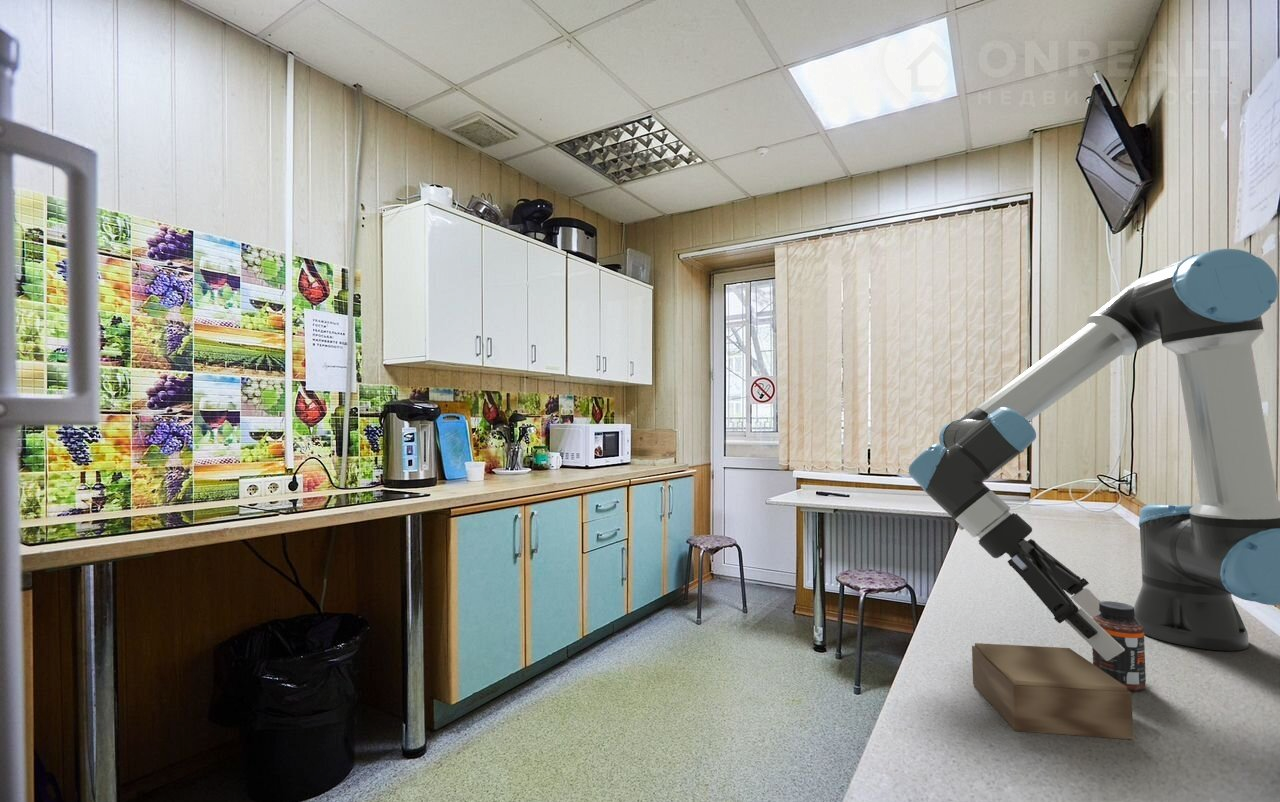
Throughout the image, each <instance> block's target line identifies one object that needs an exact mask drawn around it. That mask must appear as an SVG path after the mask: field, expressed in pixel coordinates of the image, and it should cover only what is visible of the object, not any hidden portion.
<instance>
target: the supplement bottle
mask: <svg viewBox="0 0 1280 802" xmlns="http://www.w3.org/2000/svg"><path fill="white" fill-rule="evenodd" d="M1101 601H1102V602H1100V603H1099V611H1100V612H1101V614H1099V615H1096V616H1094V617H1093V618H1092V619H1093V620H1094V621H1095V622H1097V623H1098V624H1099V625H1100V626H1101V627H1102V628H1103V629H1104V630H1105V631H1106V632H1107V633H1108V634H1109V635H1110V636H1111V637H1112V638H1113V639H1115V640H1116V641H1117V642H1118V643H1119V644H1120V645H1121V646H1122V647H1123V648H1124V649H1125V651H1123V652H1122V653H1120V654H1118V655H1117V656H1115V657H1114V658H1112V659H1110V660H1109V661H1106V660H1105V659H1104V658H1103V657H1102V656H1101V655H1100V654H1099V653H1098V652H1097V651H1096V650H1095V649H1094V648H1093V647H1092V646H1091V647H1092V664H1094V665H1095V666H1097V667H1098V668H1099V669H1101V670H1102V671H1104V672H1105V673H1107V674H1108V675H1110V676H1111V677H1113V678H1114V679H1116V680H1117V681H1119V682H1120V683H1121V684H1123V685H1124V686H1126V687H1127V690H1128V691H1130V692H1137V691H1141V690H1144V689H1145V688H1146V685H1147V684H1146V682H1147V679H1146V678H1147V676H1146V673H1147V672H1146V653H1145V649H1146V647H1145V634H1144V629H1143V627H1142V625H1141V624H1140V623H1138V622H1137V621H1136V619H1135V618H1134V616H1135V613H1134V606H1133V605H1131V604H1127V603H1125V602H1119V601H1118V602H1117V601H1110V600H1108V601H1107V600H1104V601H1103V600H1101Z"/></svg>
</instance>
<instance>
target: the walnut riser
mask: <svg viewBox="0 0 1280 802" xmlns="http://www.w3.org/2000/svg"><path fill="white" fill-rule="evenodd" d="M971 654H972V655H971V656H972V657H971V658H972V659H971V661H972V663H971V664H972V685H973V686H974V687H975V688H976V689H977V691H978V692H980V693H981V695H983V697H984V698H985V699H986V701H988V703H989V704H990V705H991V706H992V708H994V709H995V710H996V711H997V712H998V713H999V715H1000V716H1001V717H1002V718H1003V719H1004V720H1005V722H1007V724H1008V725H1009V726H1010V727H1011V728H1012V729H1013V730H1014V732H1015V731H1016V732H1025V733H1026V732H1028V733H1039V734H1041V733H1042V734H1056V735H1065V736H1066V735H1068V736H1069V735H1070V736H1081V737H1095V738H1107V739H1123V740H1134V723H1133V721H1134V719H1133V695H1132V691H1129V690H1127V687H1126V686H1124V685H1123V684H1121V683H1120V682H1119V681H1117V680H1116V679H1114V678H1113V677H1111V676H1110V675H1108V674H1107V673H1105V672H1104V671H1102V670H1101V669H1099V668H1098V667H1097V666H1095V665H1094V664H1093V662H1091V661H1089V660H1088V659H1086V658H1084V657H1083V656H1082V655H1080V654H1078V653H1077V652H1076V651H1075V650H1073V649H1071V648H1070V647H1060V646H1059V647H1057V646H1056V647H1055V646H1054V647H1053V646H1039V645H1038V646H1037V645H1036V646H1035V645H1019V644H1018V645H1017V644H1016V645H1015V644H997V643H980V642H975V643H974V645H971Z"/></svg>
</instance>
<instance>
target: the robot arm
mask: <svg viewBox="0 0 1280 802" xmlns="http://www.w3.org/2000/svg"><path fill="white" fill-rule="evenodd" d="M1278 295H1279V281H1278V277H1277V274H1276V273H1275V271H1274V270H1273V268H1272V267H1271V266H1270V265H1269V264H1268V263H1267V262H1266V261H1265V260H1264V259H1262V258H1261V257H1259V256H1255V255H1254V254H1252V253H1251V252H1248V251H1246V250H1242V249H1238V248H1237V249H1235V248H1219V249H1214V250H1209V251H1206V252H1202V253H1198V254H1194V255H1193V254H1192V255H1190V256H1188V257H1186V258H1185V259H1182V260H1180V261H1178V262H1175V263H1172V264H1170V265H1168V266H1164V267H1162V268H1159V269H1156V270H1153V271H1151V272H1148V273H1146V274H1144V275H1142V276H1141V277H1139V278H1137V279H1136V280H1134V281H1133V282H1131V283H1130V284H1129V285H1128V286H1126V287H1125V288H1124V289H1122V290H1121V291H1120V292H1118V293H1117V294H1116V295H1115V296H1113V297H1112V298H1111V299H1110V300H1108V302H1106V303H1105V304H1103V305H1102V306H1101V307H1100V308H1098V309H1097V310H1096V311H1095V312H1093V313H1091V314H1090V315H1089V316H1088V317H1087V318H1086V322H1085V324H1086V325H1085V326H1084V327H1083V328H1082V329H1080V330H1078V331H1077V332H1076V333H1075V334H1073V335H1072V336H1070V338H1068V339H1067V340H1066V341H1064V342H1062V343H1061V344H1060V345H1059V346H1057V347H1056V348H1055V349H1053V350H1051V351H1050V352H1049V353H1047V355H1046V354H1045V356H1043V357H1042V358H1041V359H1040V360H1038V361H1036V362H1035V363H1034V364H1032V366H1030V367H1029V368H1026V370H1025V371H1023V372H1022V373H1020V374H1019V375H1018V376H1016V378H1014V379H1013V380H1011V381H1010V382H1009V383H1007V384H1005V386H1003V387H1001V388H1000V390H998V391H997V392H995V393H993V395H991V396H990V397H988V398H987V399H986V400H984V401H983V402H982V403H980V404H978V405H977V406H976V407H975V408H974V409H973V410H971V411H969V412H968V413H967V414H965V415H964V416H963V417H961V418H960V419H955V420H953V421H951V422H949V423H946V424H945V425H944V426H943V427H942V429H941V430H940V433H939V436H938V441H939V443H935V444H933V445H931V446H930V447H928V448H927V449H925V450H924V451H923V452H921V453H920V454H919V455H918V456H917V457H916V458H915V459H914V460H913V461H912V462H911V463H910V465H909V467H908V474H909V477H911V478H912V479H913V481H914V482H916V483H917V484H918V486H919V487H920V488H921V489H922V490H923V492H925V493H926V494H927V495H928V496H929V497H930V498H931V499H932V500H934V501H935V503H936V504H938V505H939V507H940V508H942V509H943V511H945V512H946V513H947V514H948V515H949V516H950V517H951V518H952V519H953V520H955V522H956V523H958V525H957V527H958V529H959V530H960V531H963V530H965V531H966V532H967V533H968V534H969V536H971V537H972V538H977V537H978V539H979V540H978V544H979V545H980V546H981V548H983V549H984V550H985V551H986V552H987V553H988V555H990V556H991V557H992V558H993V559H999V558H1000V557H1003V555H1004V554H1007V555H1008V556H1009V557H1010V559H1009V560H1007V563H1008V565H1009V566H1010V567H1011V568H1012V569H1013V570H1014V571H1015V572H1016V573H1017V574H1018V575H1019V576H1020V577H1021V578H1022V580H1024V582H1025V583H1026V584H1027V586H1028V587H1029V588H1030V589H1031V590H1032V591H1033V593H1034V594H1035V595H1036V596H1037V597H1038V599H1040V601H1041V602H1042V603H1043V604H1044V606H1045V607H1046V608H1047V609H1048V610H1049V611H1050V613H1051V614H1052V615H1053V616H1054V617H1053V619H1054V620H1055V621H1056V622H1057V623H1058V624H1062V623H1063V622H1064V621H1065V623H1067V624H1068V625H1069V627H1071V628H1072V629H1073V630H1074V631H1075V632H1076V633H1077V634H1078V635H1079V636H1080V637H1081V638H1082V640H1085V642H1086V643H1087V644H1089V646H1091V647H1093V648H1094V649H1095V650H1096V651H1097V652H1098V653H1099V654H1100V655H1101V656H1102V657H1103V658H1104V659H1105V660H1106V661H1109V660H1110V659H1112V658H1114V657H1115V656H1117V655H1118V654H1120V653H1122V652H1123V651H1125V649H1124V648H1123V647H1122V646H1121V645H1120V644H1119V643H1118V642H1117V641H1116V640H1115V639H1113V638H1112V637H1111V636H1110V635H1109V634H1108V633H1107V632H1106V631H1105V630H1104V629H1103V628H1102V627H1101V626H1100V625H1099V624H1098V623H1097V622H1095V621H1094V620H1093V617H1094V616H1096V615H1099V614H1101V612H1100V611H1099V603H1100V602H1102V601H1103V600H1101V599H1100V598H1098V596H1096V595H1095V594H1094V593H1093V592H1092V591H1091V590H1090V589H1089V588H1087V586H1088V585H1089V584H1090V583H1089V581H1088V580H1087V579H1086V578H1084V577H1083V578H1081V577H1080V576H1079V575H1077V574H1076V573H1075V572H1073V571H1072V570H1071V569H1069V568H1068V567H1066V566H1065V565H1064V564H1063V563H1062V562H1061V561H1059V560H1058V559H1056V558H1055V557H1054V556H1053V555H1052V554H1050V553H1048V552H1047V551H1046V550H1045V549H1044V548H1042V547H1041V545H1039V544H1038V543H1037V542H1036V541H1035V540H1034V539H1032V538H1030V539H1028V540H1026V539H1025V538H1027V537H1028V536H1029V535H1030V534H1031V533H1033V528H1032V526H1030V524H1029V523H1027V522H1026V520H1024V519H1023V518H1022V517H1021V516H1019V515H1018V513H1015V512H1013V513H1012V512H1010V510H1011V507H1010V506H1009V505H1008V504H1007V503H1006V502H1005V501H1004V500H1003V499H1002V498H1000V496H998V495H997V494H996V493H995V492H994V491H993V490H991V489H990V488H989V487H988V486H986V484H985V483H984V482H986V480H988V479H989V478H990V477H993V475H995V473H997V472H998V471H1000V469H1002V468H1003V467H1005V466H1006V465H1007V464H1009V462H1011V461H1012V460H1013V459H1014V458H1016V457H1017V456H1019V455H1020V454H1021V453H1024V452H1025V450H1026V449H1027V448H1029V446H1030V445H1031V444H1032V443H1033V442H1034V441H1035V440H1036V439H1037V432H1036V430H1035V428H1034V426H1033V425H1032V424H1031V423H1030V421H1032V420H1033V419H1034V418H1035V417H1037V416H1038V415H1040V414H1041V413H1042V412H1044V411H1046V410H1047V409H1048V408H1049V407H1051V406H1052V405H1054V404H1055V403H1057V402H1058V401H1059V400H1060V399H1062V398H1063V397H1065V396H1066V395H1068V394H1069V393H1070V392H1072V391H1073V390H1074V389H1076V388H1077V387H1079V386H1080V385H1081V384H1083V383H1085V382H1086V381H1087V380H1089V379H1090V378H1091V377H1093V376H1095V374H1097V373H1098V372H1099V371H1101V370H1102V369H1104V368H1106V366H1108V365H1109V364H1111V363H1113V361H1115V360H1116V359H1118V358H1119V357H1120V356H1131V355H1133V354H1135V353H1136V352H1138V351H1139V350H1140V349H1142V348H1143V347H1145V346H1147V345H1149V344H1151V343H1153V342H1155V341H1158V340H1161V345H1162V347H1164V348H1166V349H1168V350H1169V351H1171V352H1173V353H1174V354H1175V355H1176V360H1177V366H1178V371H1179V377H1180V384H1181V389H1182V390H1181V392H1182V397H1183V403H1184V409H1185V416H1186V421H1187V427H1188V433H1189V434H1188V436H1189V440H1190V445H1191V451H1192V459H1193V465H1194V470H1195V477H1196V478H1195V479H1196V484H1197V489H1198V490H1197V491H1198V495H1199V497H1198V498H1199V500H1198V501H1197V502H1196V503H1195V504H1194V505H1192V504H1189V505H1182V504H1181V505H1179V504H1178V505H1174V504H1171V505H1170V504H1147V505H1144V506H1143V507H1142V508H1141V509H1140V511H1139V521H1138V527H1139V537H1140V538H1139V539H1140V542H1139V543H1140V558H1141V559H1140V561H1141V563H1140V564H1141V582H1142V583H1141V588H1140V591H1139V593H1138V595H1137V597H1136V599H1135V600H1136V601H1135V603H1134V606H1133V607H1134V613H1135V616H1134V618H1135V619H1136V621H1137V622H1138V623H1140V624H1141V625H1142V627H1143V629H1144V636H1148V637H1152V638H1154V639H1157V640H1159V641H1163V642H1166V643H1167V642H1168V643H1172V644H1175V645H1180V646H1185V647H1189V648H1196V649H1204V650H1212V651H1224V652H1225V651H1229V652H1231V651H1233V652H1234V651H1241V650H1246V649H1247V648H1248V647H1249V633H1248V630H1247V628H1246V626H1245V623H1244V622H1243V620H1242V616H1241V615H1240V613H1239V611H1238V608H1237V607H1236V604H1235V602H1234V600H1233V597H1232V596H1234V597H1236V598H1239V599H1241V600H1245V601H1247V602H1248V601H1249V602H1256V603H1259V604H1261V605H1262V604H1263V605H1267V606H1277V607H1278V606H1279V607H1280V500H1279V497H1278V492H1277V487H1276V480H1275V475H1274V470H1273V463H1272V458H1271V452H1270V446H1269V439H1268V433H1267V427H1266V422H1265V417H1264V411H1263V405H1262V398H1261V393H1260V385H1259V380H1258V375H1257V369H1256V363H1255V357H1254V352H1253V347H1252V345H1253V343H1254V342H1255V341H1256V340H1257V339H1258V338H1259V337H1260V336H1261V335H1262V334H1263V333H1264V332H1265V330H1264V324H1263V318H1262V316H1263V315H1264V313H1266V312H1267V311H1268V310H1270V308H1271V307H1272V304H1273V303H1275V302H1276V300H1277V298H1278ZM1069 595H1071V597H1069ZM1076 604H1077V605H1078V606H1079V607H1080V608H1079V607H1078V606H1077V605H1076Z"/></svg>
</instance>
